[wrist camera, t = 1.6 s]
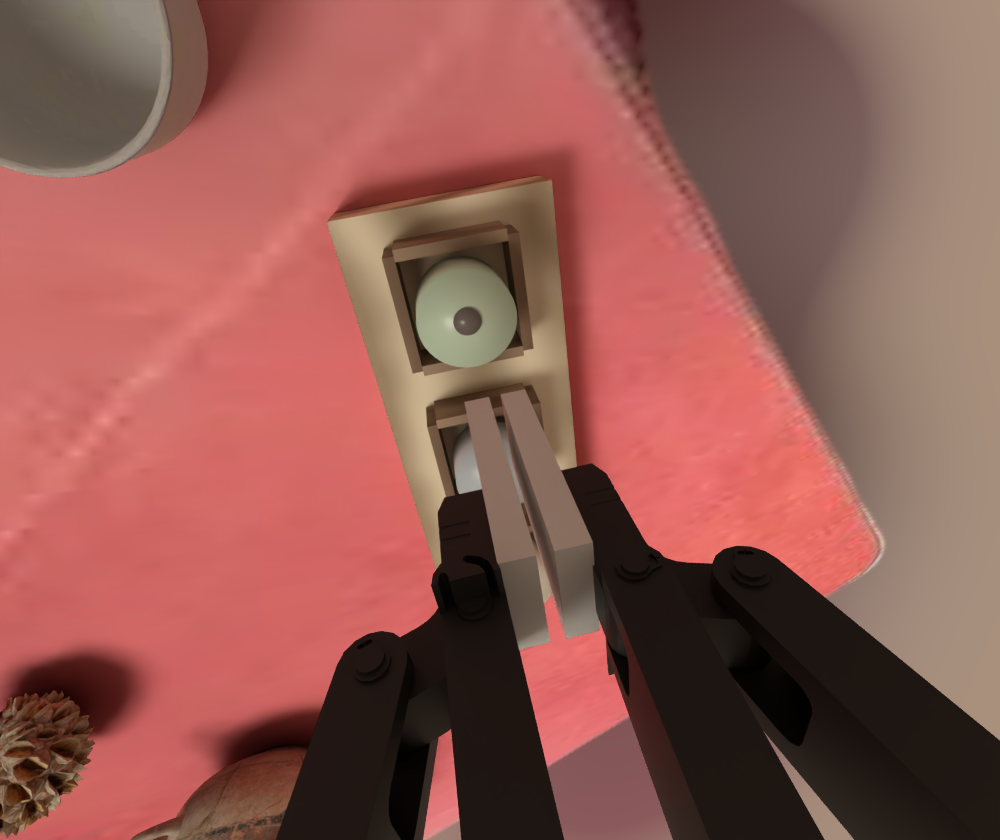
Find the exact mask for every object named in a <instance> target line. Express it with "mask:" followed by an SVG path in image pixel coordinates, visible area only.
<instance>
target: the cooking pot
mask: <svg viewBox="0 0 1000 840" xmlns="http://www.w3.org/2000/svg"><path fill="white" fill-rule="evenodd" d="M307 749H308V747H306V746H301V745H285V746H279V747H275V748H272V749H270V750H268V751H266V752H262V753H259V754H256V755H253V756H251V757H248V758H245V759H243V760H240V761H238V762H236V763H234V764H232V765H230V766H228V767H226V768H224V769H222V770H221V771H219V772H218V773H216V774H215V775H213V776H212V777H211V778H209V779H208V780H207V781H205V782H204V783H203V784H202V785H201V786H200V787H199V788H198V789H197V790H196V791H195V792H194V793H193V794H192V795H191V797H190V798H189V799H188V800H187V802H186V803H185V804H184V806H183V807H182V809H181V810H180V812H179V813H178V815H177V817H176V818H173V819H171V820H168V821H166V822H163V823H161V824H158V825H156V826H154V827H151V828H149V829H147V830H145V831H143V832H141V833H139V834H137V835H136V836H134V837H133V838H132V839H131V840H276V837H277V834H278V831H279V828H280V826H281V823H282V820H283V817H284V814H285V811H286V809H287V806H288V803H289V800H290V797H291V794H292V792H293V789H294V786H295V783H296V780H297V777H298V775H299V772H300V769H301V766H302V763H303V760H304V758H305V755H306V752H307Z"/></svg>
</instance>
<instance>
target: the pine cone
mask: <svg viewBox="0 0 1000 840" xmlns="http://www.w3.org/2000/svg"><path fill="white" fill-rule="evenodd" d="M63 698H64V695H63V692H62V691H61V693H60V694H59V695H58V694H57V692H56V691H54V690H53V691H52V692H51V694H50V695H49V696H48V693H45V695H43V696H42V697H41V698H39V697H38V694H36V693H35V694H33V695H30V696H28V695H27V694H26V693H25V695H24V697H22V696H20V697H16V698H15V699H13V697H10V698H9V699H7V707H6V709H4V710H3V711H1V712H0V834H2V833H3V832H5V834H6V837H7V838H8V836H9V835H10V834H11V832H12V833H13V834H15V835H17V833H18V830H22V832H23V831H24V829H25V827H26V824H27V825H31V824H32V823H34V822H35V821H36V820H37V819H38V818H41V816H42V817H48V810H53V811H56V806H55V805H59V806H60V802H61V799H60V795H62V794H70V793H71V792H72V791H71V789H73V788H75V787H77V786H78V785H77V783H76V782H77V781H80V780H82V777H81V776H80V775H78V774H77V773H78V772H79V771H82V770H84V769H86V768H85V767H84V765H85V764H87V763H89V762H90V761H91V760H90V759H87V756H88V755H89V754H90V752H91V750H92V749H93V747H92V748H89V747H91V746H93V745H94V744H95V743H94V741H93V740H91V741H87V738H88V737H89V736H90V735H91V733H92V731H93V729H94V727H93V728H89V729H86V728H87V727H88V725H89V722H88V718H89V717H90V715H84V716H82V717H81V715H79V712H80V711H79V709H80V708H79V706H78V705H75V703H74V701H70V696H69V697H67V698H65V699H63ZM62 699H63V700H62Z"/></svg>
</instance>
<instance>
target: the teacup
mask: <svg viewBox="0 0 1000 840" xmlns="http://www.w3.org/2000/svg"><path fill="white" fill-rule="evenodd" d="M207 74H208V48H207V38H206V33H205V28H204V23H203V19H202V16H201V13H200V9H199V6H198V3H197V0H0V166H1V167H4V168H8V169H11V170H14V171H18V172H21V173H26V174H30V175H35V176H43V177H52V178H68V177H85V176H90V175H95V174H99V173H102V172H105V171H108V170H111V169H114V168H116V167H118V166H120V165H122V164H124V163H125V162H127V161H129V160H132V159H135V158H138V157H140V156H143V155H145V154H148V153H150V152H152V151H154V150H156V149H159V148H161V147H162V146H164V145H166V144H168V143H169V142H170V141H172V140H173V139H174V138H176V137H177V136H178V135H179V134H180V133H181V132H182V131H183V130H184V129H185V128H186V127H187V126H188V124H189V123H190V121H191V120H192V118H193V117H194V115H195V114H196V112H197V110H198V108H199V105H200V103H201V101H202V97H203V94H204V91H205V87H206V81H207Z"/></svg>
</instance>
